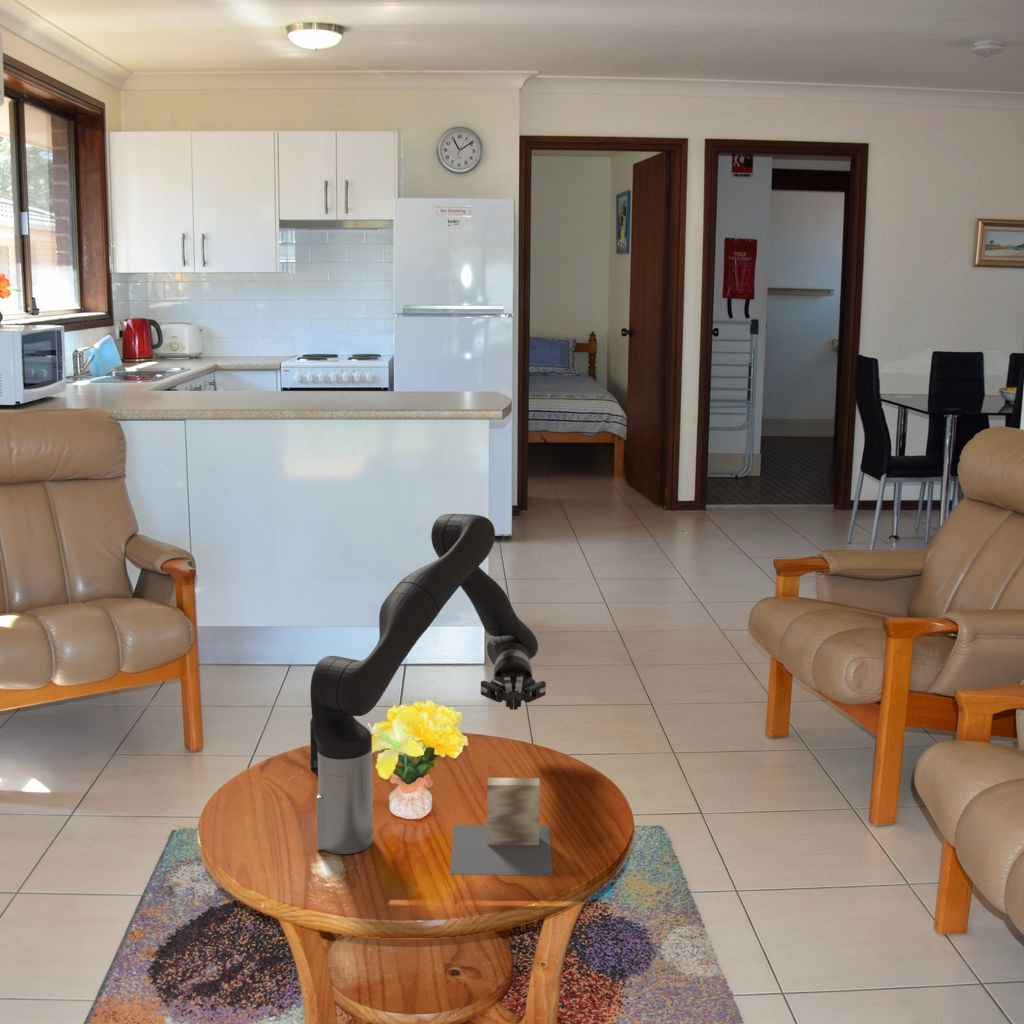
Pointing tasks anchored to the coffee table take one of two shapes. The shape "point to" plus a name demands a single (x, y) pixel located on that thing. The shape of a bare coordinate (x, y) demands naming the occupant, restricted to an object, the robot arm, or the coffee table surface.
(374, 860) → the coffee table surface
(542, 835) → the rubber mat
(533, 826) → the green flat block
